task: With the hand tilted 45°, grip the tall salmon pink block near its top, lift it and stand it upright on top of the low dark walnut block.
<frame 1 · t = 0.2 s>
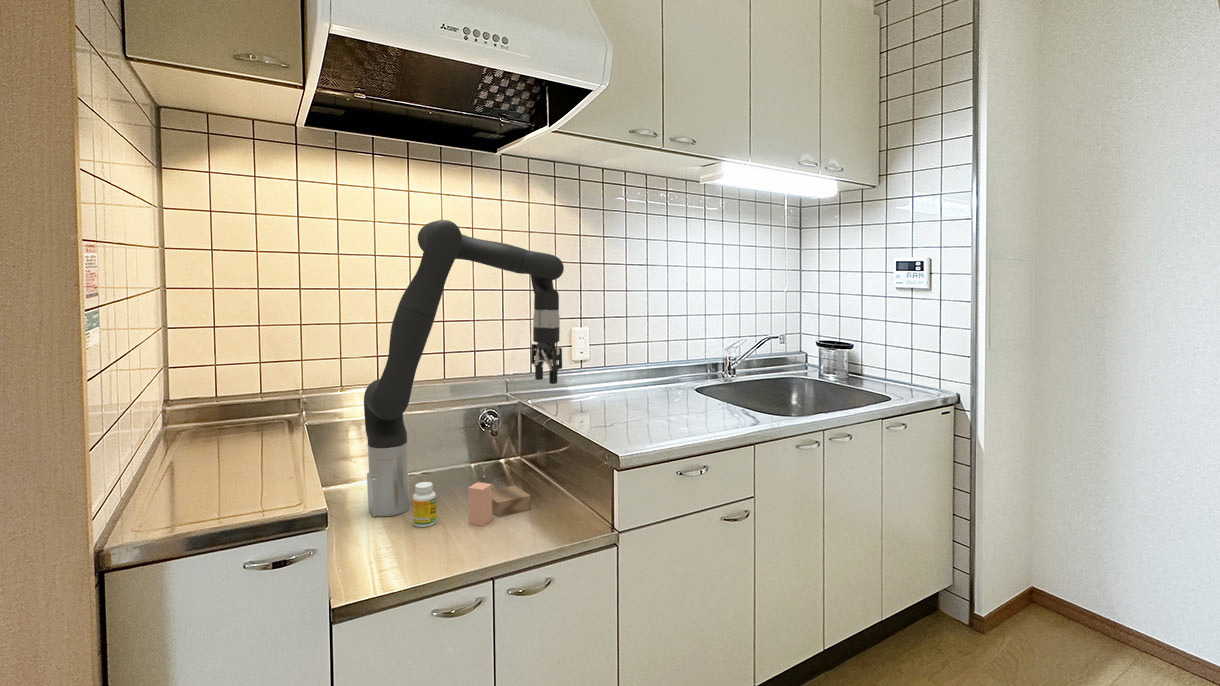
hand: (546, 381, 171), 29 cm above the countertop, tool pointing down, fingers open, 8 cm apart
supplement bottle: (425, 523, 142), on the countertop
walnut block: (506, 508, 152), on the countertop
salmon pink block: (480, 521, 143), on the countertop
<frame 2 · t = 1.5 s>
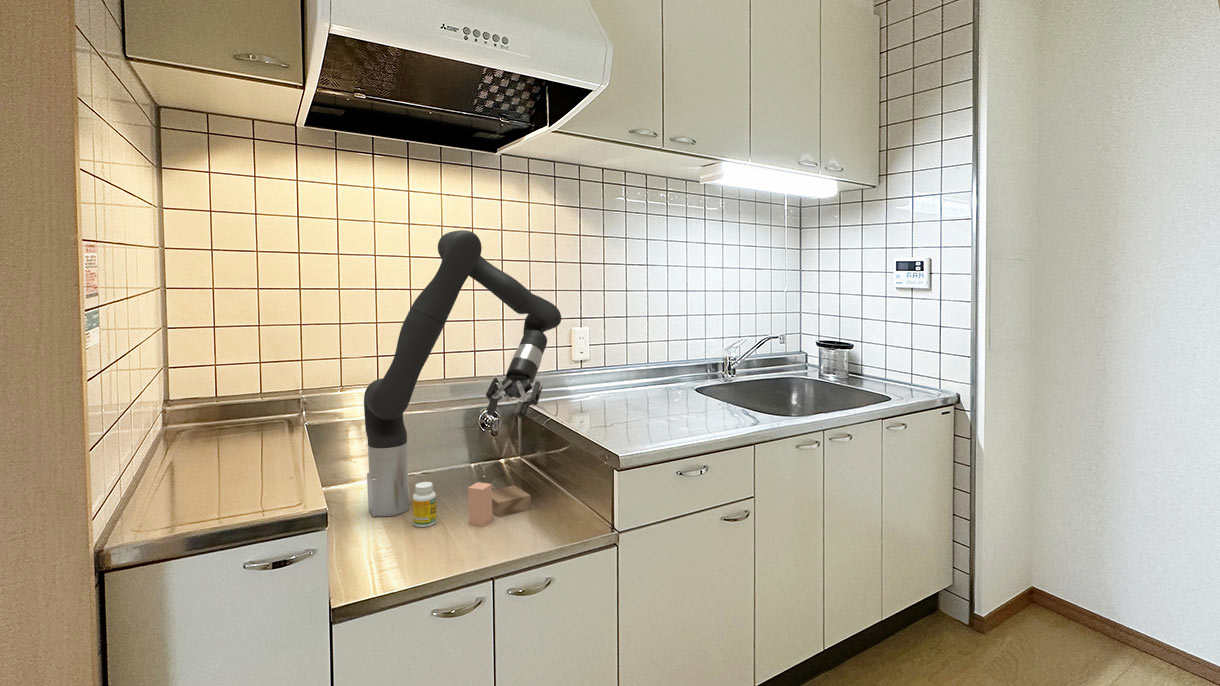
hand: (504, 415, 151), 24 cm above the countertop, tool tilted 45°, fingers open, 8 cm apart
nothing on the countertop moved.
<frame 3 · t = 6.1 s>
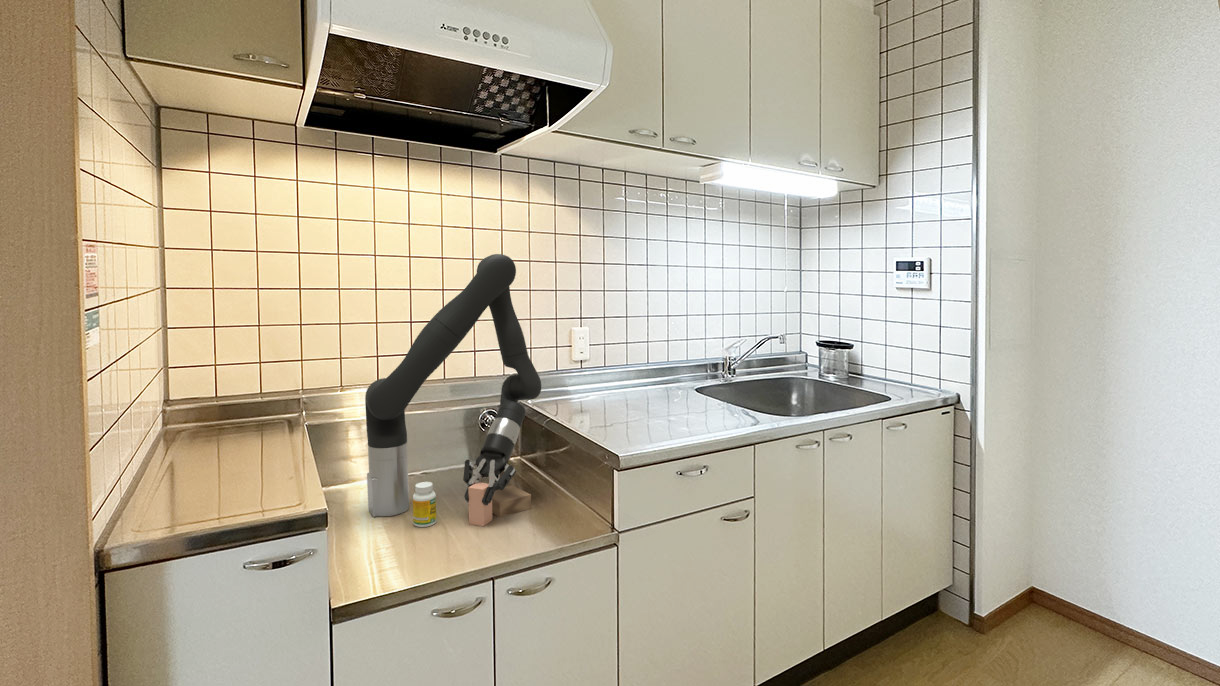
hand: (476, 502, 140), 6 cm above the countertop, tool tilted 45°, fingers closed on salmon pink block, 4 cm apart
salmon pink block: (480, 521, 143), on the countertop, touching gripper
everything else where it was.
when the fingers open (10 cm above the countertop, at t = 11.9 s): salmon pink block drops 1 cm, point 4 cm above the countertop.
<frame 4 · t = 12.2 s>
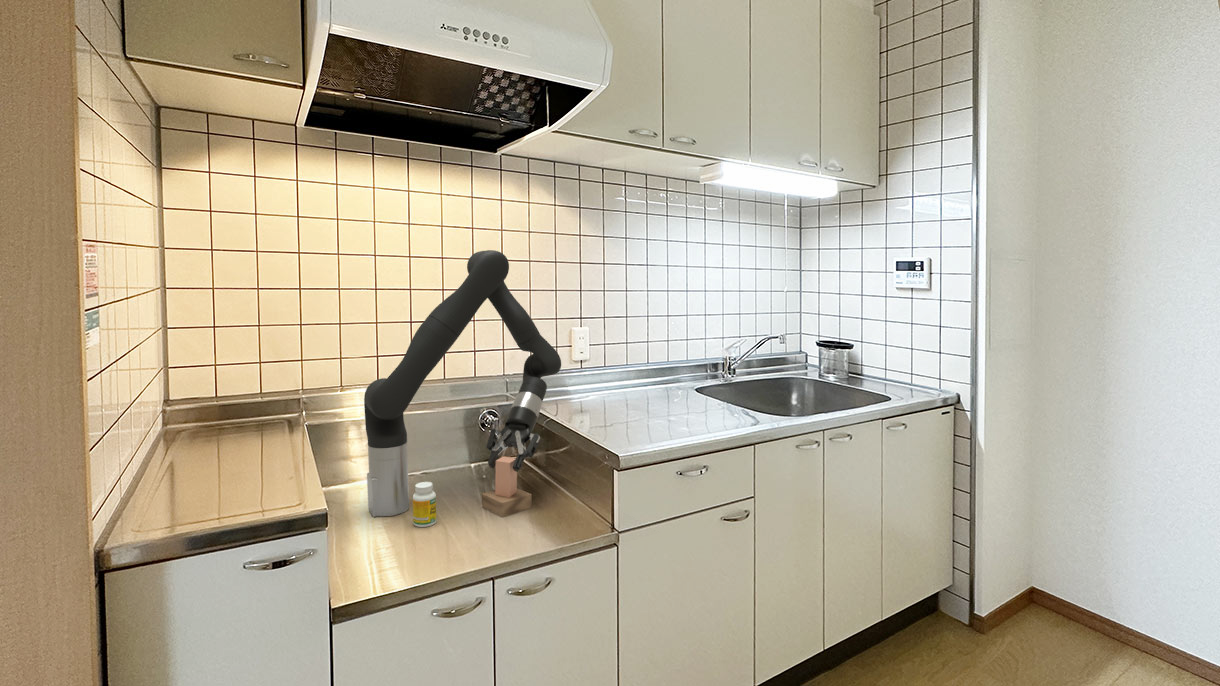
hand: (503, 468, 149), 11 cm above the countertop, tool tilted 45°, fingers open, 6 cm apart
salmon pink block: (506, 493, 152), point 4 cm above the countertop
everything else where it was.
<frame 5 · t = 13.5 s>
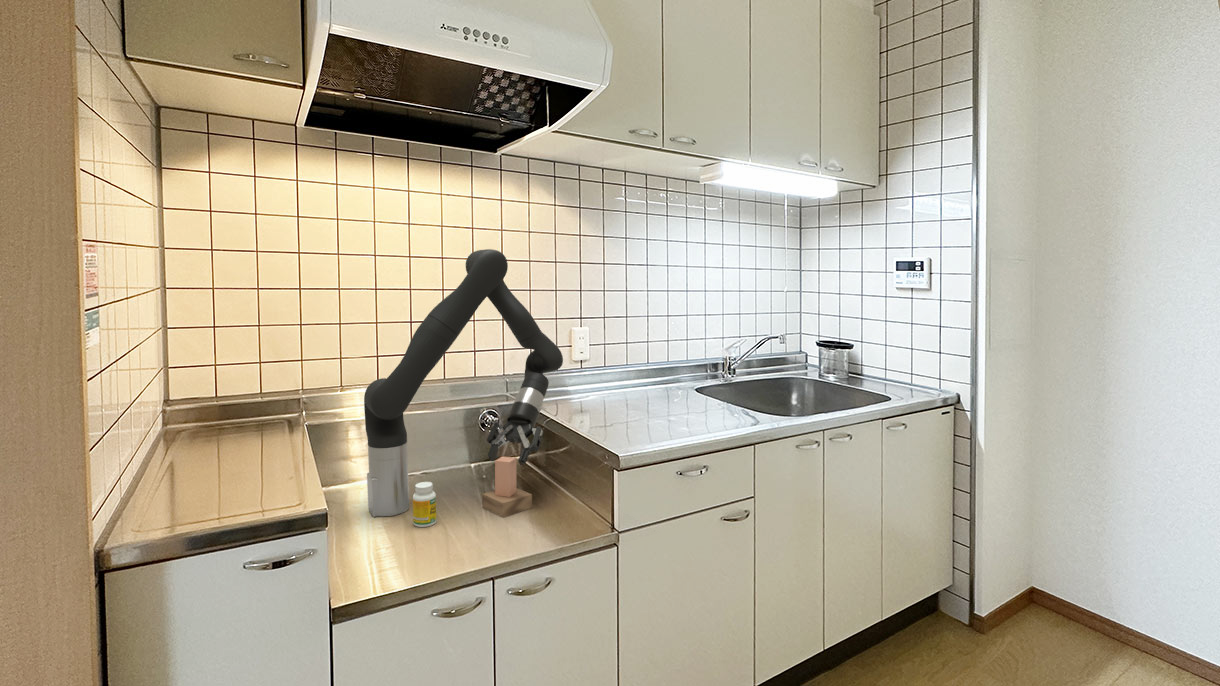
hand: (505, 461, 150), 12 cm above the countertop, tool tilted 45°, fingers open, 8 cm apart
nothing on the countertop moved.
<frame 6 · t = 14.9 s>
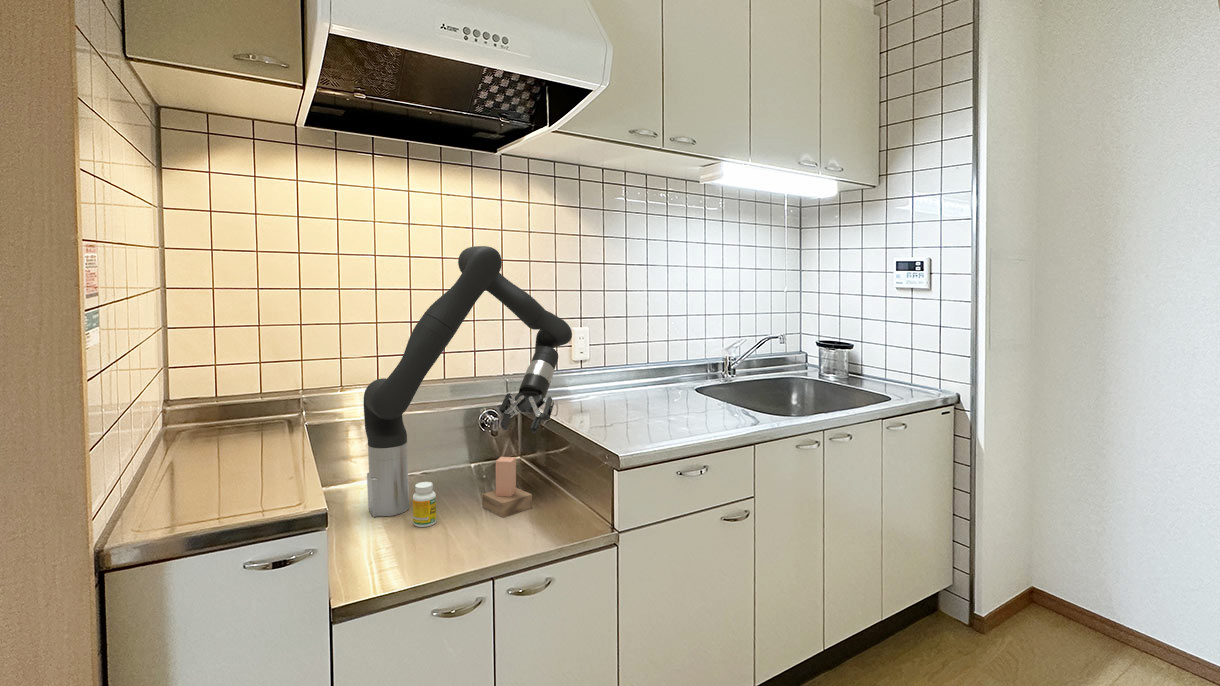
hand: (518, 430, 156), 19 cm above the countertop, tool tilted 45°, fingers open, 8 cm apart
nothing on the countertop moved.
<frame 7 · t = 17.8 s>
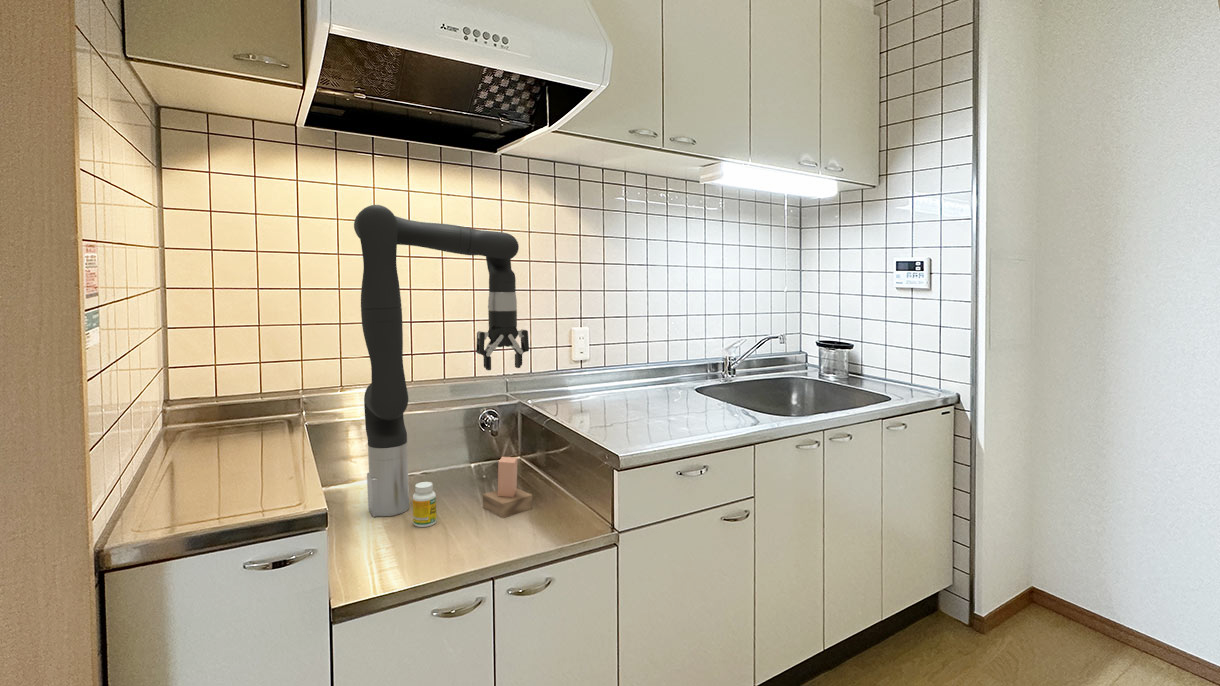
hand: (503, 368, 160), 34 cm above the countertop, tool pointing down, fingers open, 8 cm apart
walnut block: (507, 509, 151), on the countertop, touching salmon pink block
salmon pink block: (507, 493, 151), point 4 cm above the countertop, touching walnut block
everything else where it was.
at the end: salmon pink block 0.2 cm off-centre on the walnut block, point 4.1 cm above the walnut block's base; salmon pink block tilted 1°; the gripper is holding nothing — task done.
